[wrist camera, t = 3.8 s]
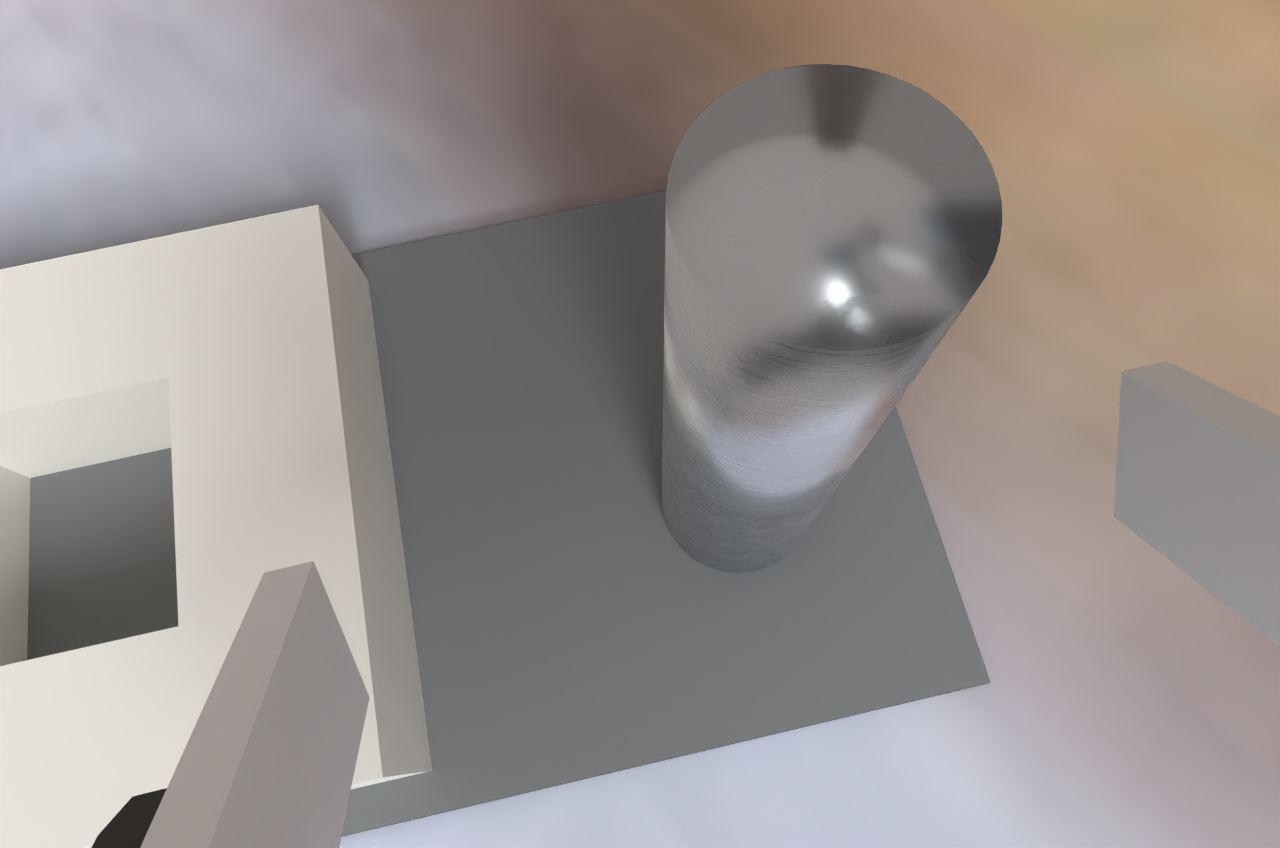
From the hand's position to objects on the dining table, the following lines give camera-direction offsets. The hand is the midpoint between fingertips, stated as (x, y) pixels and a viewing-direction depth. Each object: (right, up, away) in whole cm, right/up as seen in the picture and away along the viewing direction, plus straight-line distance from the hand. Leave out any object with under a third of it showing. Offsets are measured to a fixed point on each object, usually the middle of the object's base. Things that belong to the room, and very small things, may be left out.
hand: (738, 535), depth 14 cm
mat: (-9, -1, +10) cm, 14 cm away
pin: (+1, 0, +10) cm, 10 cm away
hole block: (-15, -2, +10) cm, 18 cm away
